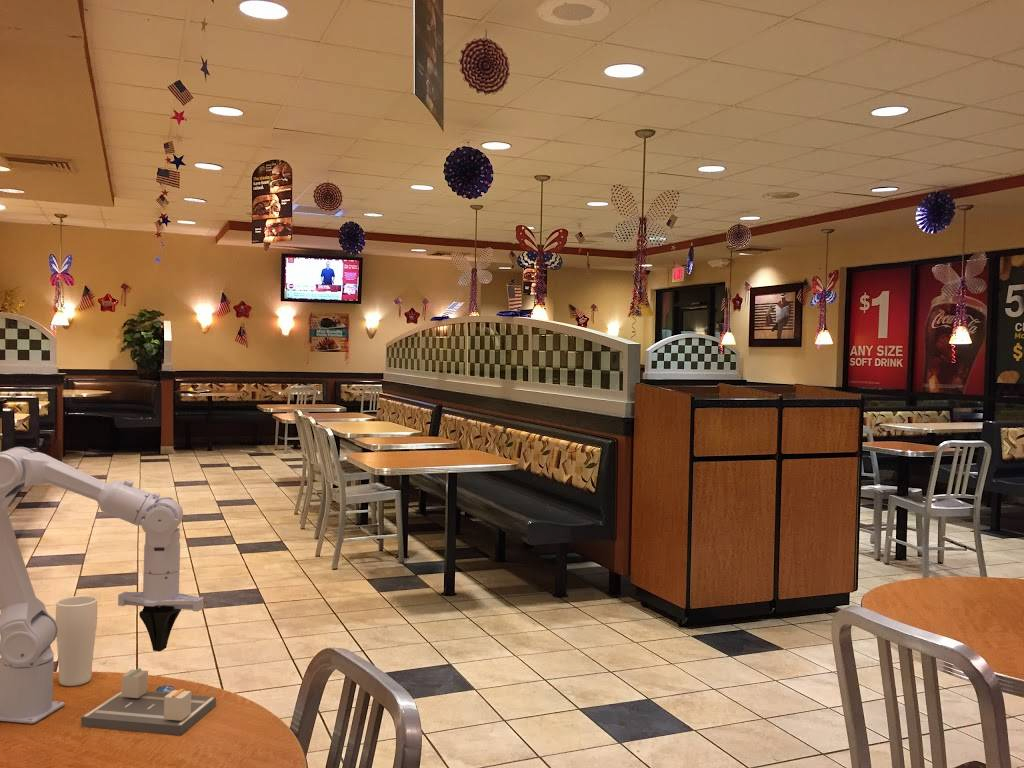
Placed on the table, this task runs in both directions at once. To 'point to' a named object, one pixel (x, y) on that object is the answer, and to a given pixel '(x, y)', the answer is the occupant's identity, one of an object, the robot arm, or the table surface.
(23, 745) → the table surface
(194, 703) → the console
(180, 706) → the fader
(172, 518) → the robot arm
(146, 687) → the fader
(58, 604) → the drinking glass
